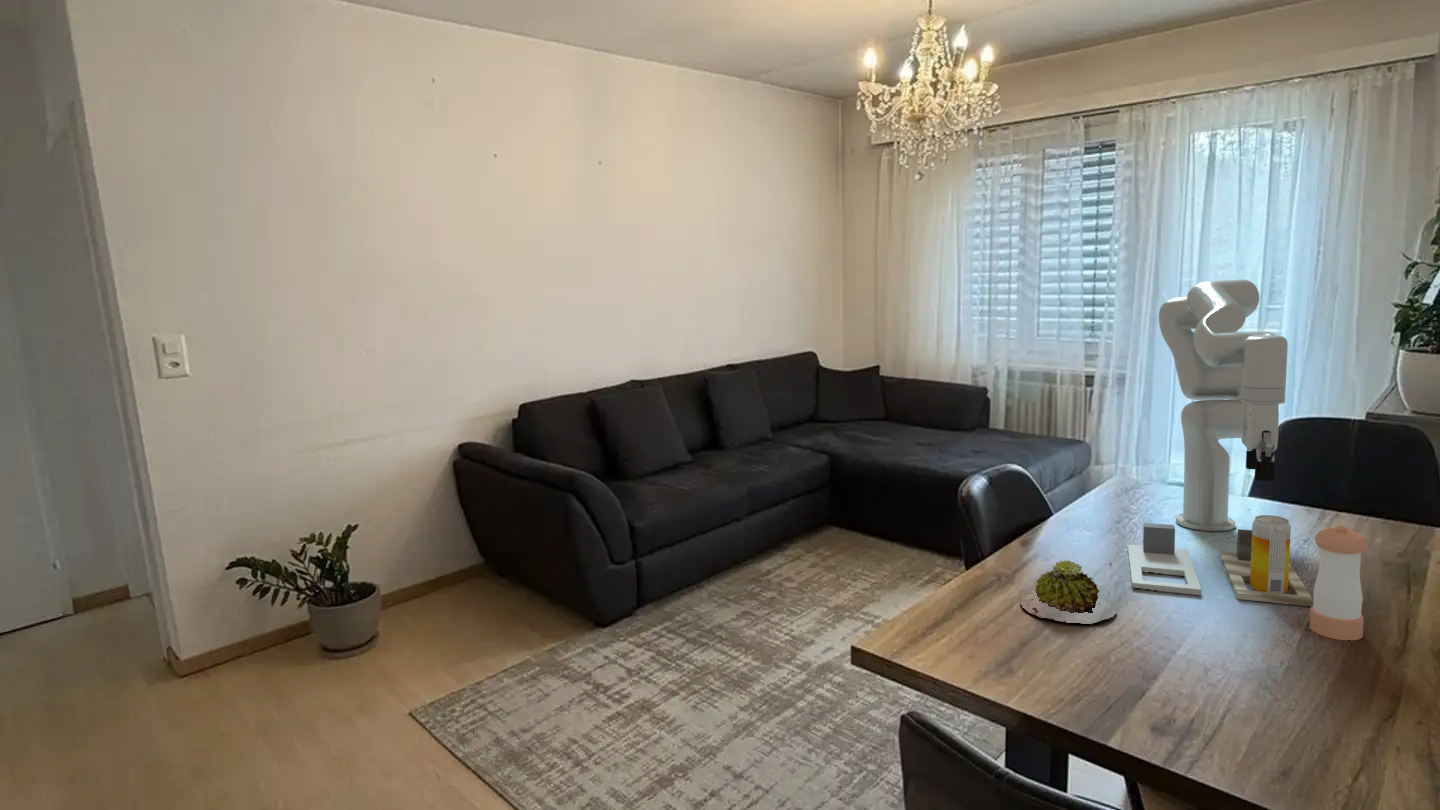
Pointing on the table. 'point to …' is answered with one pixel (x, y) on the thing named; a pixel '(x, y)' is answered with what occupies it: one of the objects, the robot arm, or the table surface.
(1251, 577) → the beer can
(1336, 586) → the pepper shaker
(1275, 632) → the table surface
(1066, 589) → the cactus
